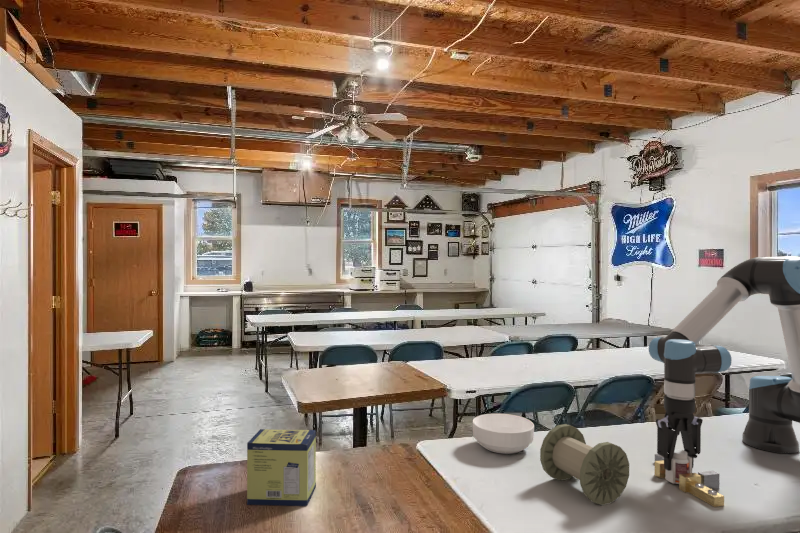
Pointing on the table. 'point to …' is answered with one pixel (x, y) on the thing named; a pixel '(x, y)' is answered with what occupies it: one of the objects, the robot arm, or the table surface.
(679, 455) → the pill bottle
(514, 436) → the bowl
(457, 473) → the table surface
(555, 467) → the spool
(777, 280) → the robot arm
